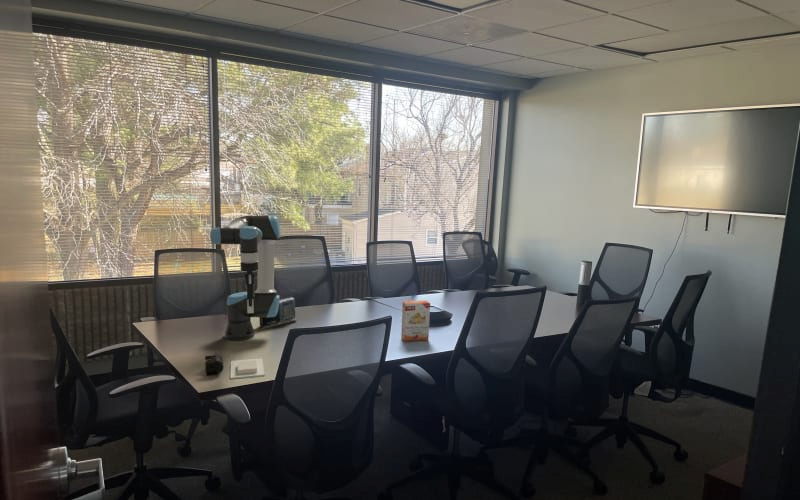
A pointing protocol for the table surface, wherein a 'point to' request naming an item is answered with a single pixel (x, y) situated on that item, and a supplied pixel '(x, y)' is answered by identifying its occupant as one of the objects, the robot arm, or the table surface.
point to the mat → (235, 374)
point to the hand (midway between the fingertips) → (250, 312)
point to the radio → (280, 314)
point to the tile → (247, 367)
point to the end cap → (213, 364)
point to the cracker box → (415, 320)
